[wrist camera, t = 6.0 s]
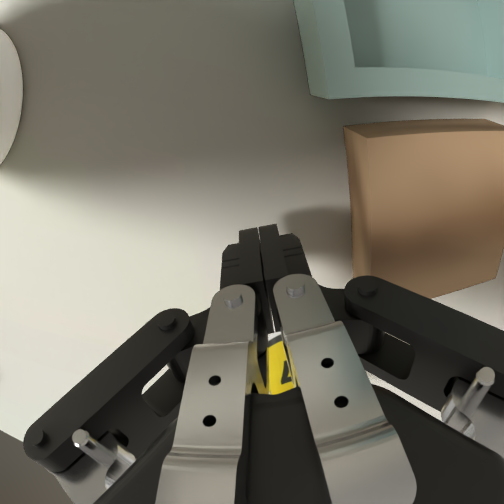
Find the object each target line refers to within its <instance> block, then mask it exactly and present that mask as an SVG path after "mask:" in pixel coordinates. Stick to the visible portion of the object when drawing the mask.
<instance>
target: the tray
mask: <svg viewBox="0 0 504 504" xmlns="http://www.w3.org/2000/svg"><path fill="white" fill-rule="evenodd" d="M293 1H294V6H295V11H296V16H297V21H298V26H299V31H300V36H301V42H302V47H303V53H304V59H305V65H306V71H307V77H308V84H309V90H310V95H313V96H318V97H322V98H326V99H341V98H357V97H382V96H424V97H449V98H464V99H475V100H485V101H494V102H502V103H504V0H293Z"/></svg>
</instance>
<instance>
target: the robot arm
mask: <svg viewBox="0 0 504 504" xmlns="http://www.w3.org/2000/svg"><path fill="white" fill-rule="evenodd" d="M259 235H260V238H259ZM221 268H222V269H221V281H220V291H218V292H217V293H216V294H215V295H214V297H213V298H212V301H211V306H210V308H208V309H207V310H205V311H203V312H200V313H198V314H195V315H193V316H190V317H189V316H188V314H187V313H186V312H185V311H184V310H182V309H177V308H173V309H167V310H164V311H162V312H160V313H158V314H157V315H156V316H154V317H153V318H152V319H151V320H150V321H148V322H147V323H146V324H145V325H144V326H143V327H142V328H140V329H139V330H138V331H137V332H136V333H135V334H134V335H132V336H131V337H130V338H129V339H128V340H127V341H126V342H124V343H123V344H122V345H121V346H120V347H119V348H118V349H116V350H115V351H114V352H113V353H112V354H111V355H110V356H108V357H107V358H106V359H105V360H104V361H103V362H102V363H100V364H99V365H98V366H97V367H96V368H95V369H94V370H93V371H91V372H90V373H89V374H88V375H87V376H86V377H85V378H83V379H82V380H81V381H80V382H79V383H78V384H77V385H76V386H74V387H73V388H72V389H71V390H70V391H69V392H68V393H67V394H65V395H64V396H63V397H62V398H61V399H60V400H59V401H58V402H57V403H55V404H54V405H53V406H52V407H51V408H50V409H49V410H48V411H47V412H45V413H44V414H43V415H42V416H41V417H40V418H39V419H38V420H37V421H35V422H34V423H33V424H32V425H31V426H30V427H29V429H28V430H27V432H26V434H25V437H24V442H23V445H24V450H25V452H26V454H27V455H28V457H30V458H31V459H32V460H34V461H35V462H37V463H38V464H40V465H41V466H43V467H44V468H46V470H47V471H49V472H50V473H52V474H54V475H55V477H56V478H57V480H58V481H59V483H60V484H61V486H62V487H63V489H64V490H65V491H66V493H67V494H68V496H69V497H70V499H71V500H72V501H73V503H74V504H504V331H503V330H500V329H498V328H496V327H494V326H491V325H489V324H487V323H485V322H482V321H480V320H478V319H475V318H473V317H471V316H469V315H466V314H464V313H462V312H459V311H457V310H455V309H452V308H450V307H448V306H445V305H443V304H441V303H438V302H436V301H434V300H431V299H429V298H427V297H424V296H422V295H420V294H417V293H415V292H412V291H410V290H408V289H405V288H403V287H401V286H398V285H396V284H393V283H391V282H388V281H386V280H384V279H381V278H379V277H376V276H369V275H365V276H359V277H356V278H353V279H352V280H350V281H349V282H348V283H347V284H346V286H345V289H331V288H326V287H323V286H321V285H319V284H318V283H317V281H316V280H315V279H314V278H313V277H312V275H311V272H310V269H309V266H308V263H307V260H306V257H305V254H304V251H303V248H302V245H301V243H300V240H299V238H297V237H296V236H295V235H293V234H292V233H291V234H285V235H280V236H279V232H278V228H277V224H272V225H266V226H261V227H259V233H258V229H257V227H256V228H250V229H245V230H240V231H239V243H237V244H231V245H228V246H227V247H226V249H225V250H224V252H223V253H222V267H221ZM271 311H272V313H271ZM272 316H273V321H274V326H275V330H276V332H281V336H282V341H283V346H284V351H285V355H286V359H287V363H288V367H289V371H290V375H291V379H292V383H293V387H294V388H292V389H290V390H287V391H284V392H282V393H279V394H274V395H272V394H269V350H268V334H270V333H274V329H273V321H272ZM385 332H387V333H389V334H391V335H393V336H395V337H397V338H399V339H401V340H403V341H405V342H407V343H408V344H410V345H411V346H410V345H408V344H406V343H404V342H402V341H400V340H398V339H396V338H394V337H392V336H390V335H388V334H386V333H385ZM166 364H167V366H168V367H169V369H168V370H167V371H166V372H165V373H164V374H163V375H162V376H161V377H160V378H159V379H158V380H157V381H156V382H155V383H154V384H153V385H152V386H151V387H150V388H149V389H148V390H147V391H146V392H145V393H144V394H142V389H143V387H144V386H145V385H146V384H147V383H148V382H149V381H150V380H151V379H152V378H153V377H154V376H155V375H156V374H157V373H158V372H159V371H160V370H161V369H162V368H163V367H164V366H165V365H166ZM365 370H366V371H368V372H370V373H371V374H373V375H375V376H377V377H378V378H380V379H382V380H384V381H386V382H387V383H389V384H391V385H393V386H394V387H396V388H398V389H400V390H402V391H403V392H405V393H407V394H409V395H411V396H412V397H414V398H416V399H418V400H420V401H422V402H423V403H425V404H427V405H429V406H431V407H433V408H435V409H436V410H438V411H440V412H441V417H442V421H443V422H442V421H440V420H438V419H437V418H435V417H433V416H431V415H430V414H428V413H426V412H425V411H423V410H421V409H420V408H418V407H416V406H415V405H413V404H411V403H410V402H408V401H406V400H405V399H403V398H401V397H400V396H398V395H397V394H395V393H393V392H391V391H390V390H387V389H385V388H383V387H380V386H377V385H373V384H371V383H370V381H369V378H368V376H367V374H366V372H365Z"/></svg>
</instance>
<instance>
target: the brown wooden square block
mask: <svg viewBox="0 0 504 504" xmlns="http://www.w3.org/2000/svg"><path fill="white" fill-rule="evenodd" d="M343 129H344V137H345V146H346V156H347V167H348V178H349V191H350V206H351V224H352V250H353V278H356V277H359V276H365V275H369V276H376V277H379V278H381V279H384V280H386V281H388V282H391V283H393V284H396V285H398V286H401V287H403V288H405V289H408V290H410V291H412V292H415V293H417V294H420V295H422V296H424V297H427V298H429V299H431V298H435V297H438V296H441V295H445V294H448V293H451V292H455V291H458V290H461V289H464V288H467V287H470V286H473V285H477V284H480V283H483V282H486V281H488V280H491V279H494V278H496V275H497V272H498V268H499V264H500V260H501V256H502V252H503V248H504V126H503V125H500V124H497V123H495V122H492V121H489V120H486V119H429V120H408V121H392V122H380V123H369V124H358V125H349V126H343Z"/></svg>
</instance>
